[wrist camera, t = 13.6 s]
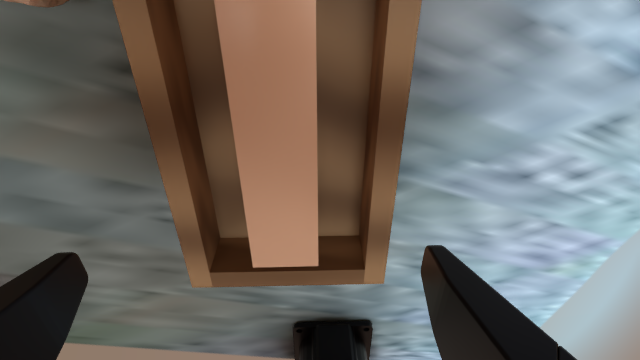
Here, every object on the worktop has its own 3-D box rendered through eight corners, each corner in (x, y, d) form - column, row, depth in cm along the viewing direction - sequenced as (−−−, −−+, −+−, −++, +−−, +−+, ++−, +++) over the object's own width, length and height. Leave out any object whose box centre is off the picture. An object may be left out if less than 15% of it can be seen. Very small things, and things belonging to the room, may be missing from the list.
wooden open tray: (373, 238, 25) (383, 283, 22) (208, 241, 25) (192, 287, 21) (412, -143, 14) (444, -173, 11) (122, -144, 14) (63, -175, 11)
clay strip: (317, 219, 23) (318, 266, 19) (261, 220, 23) (252, 267, 19) (313, -71, 15) (314, -78, 11) (227, -71, 15) (202, -77, 11)
